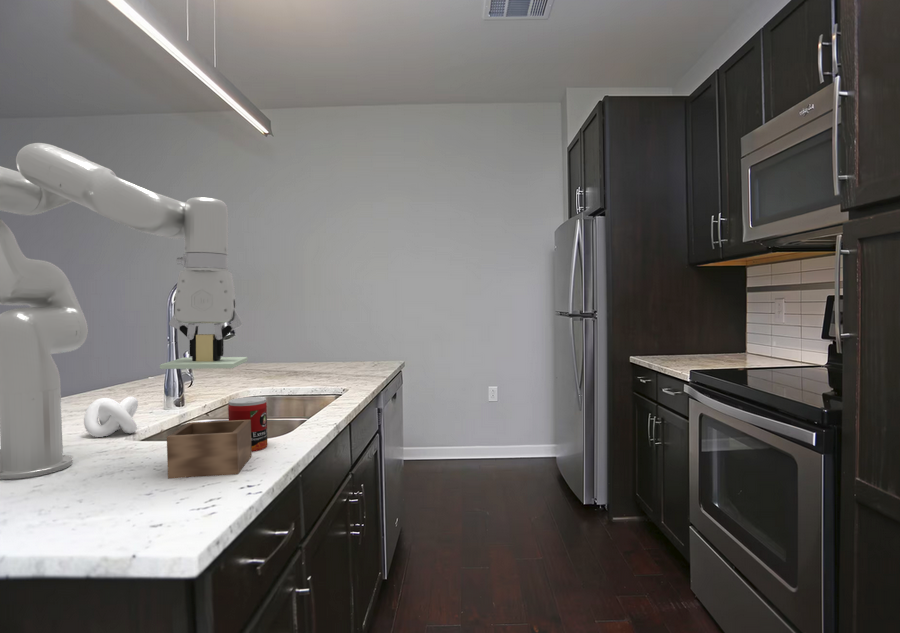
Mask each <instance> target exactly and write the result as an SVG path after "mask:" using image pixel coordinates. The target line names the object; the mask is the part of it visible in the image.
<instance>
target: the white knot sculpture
mask: <svg viewBox="0 0 900 633" xmlns="http://www.w3.org/2000/svg"><path fill="white" fill-rule="evenodd" d="M138 405H139V401H138V399H137V397H134V396H127V397H125V398H124V399H122V400H121V401H120V402H118V401H116V399H113V398H109V397H100V398H97V399H95V400H94V401H92V402H91V403H90V404H89V405H88V406H87V408H86V410H85V413H84V417H83V426H84V429H85V430H86V432H87V433H88V434H89V435H91V436H92V437H94V436H95V438H98V437H102V438H104V437H103V436H106V437H108V436H110V435H113V433H115V431H116V430H118V431H120V430H122V432H123V433H125V434H127V433H132V434H133V433H135V432H136V431H137V423H136V422H135V420H134V419H133V417H134V415H135V414H136V411H137V410H138V407H139V406H138ZM119 429H120V430H119ZM116 432H117V431H116Z"/></svg>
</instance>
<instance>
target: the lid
mask: <svg viewBox="0 0 900 633" xmlns="http://www.w3.org/2000/svg"><path fill="white" fill-rule="evenodd" d="M213 340H215V333H198V335H196V361H192V357H180V358H177V359H174V360H171V361H168V362H167V361H166V362H163V363H161V364H159V369H160V370H172V369H173V370H180V369H181V370H183V369H184V370H185V369H186V370H188V369H191V370H195V369H197V370H198V369H199V370H200V369H208V370H209V369H234V368H236V367H238V366H239V367H240V365H243V364H244V363H247V362H248V360H249V358H248V356H230V357H229V356H228V357H227V356H221V359H220V360H218V361H214V360H213Z"/></svg>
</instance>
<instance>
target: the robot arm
mask: <svg viewBox="0 0 900 633" xmlns="http://www.w3.org/2000/svg"><path fill="white" fill-rule="evenodd" d="M15 164H16V168H17V170H18V171H17V170H14V169H12V168H7V167H3V166H1V165H0V211H1V212H5V213H6V212H7V213H10V214H11V213H12V214H15V215H16V214H17V215H19V216H36V215H39V214H43V213H46V212H48V211H50V210H54V209H56V208H59V207H62V206H65V205H68V204H70V203H73V202H74V203H76V204H78V205H80V206H83V207H85V208H87V209H89V210H90V211H92V212H95V213H97V214H98V215H100V216H102V217H105V218H107V219H109V220H112V221H113V222H116V223H118V224H121V225H123V226H125V227H127V228H130V229H131V230H135V231H137V232H140V233H144V234H149V235H154V236H157V237H158V236H159V237H162V238H166V239H171V240H183V239H184V253H183V256H181V257H176V265H180V266H183V268H184V270H181V269H180V270H179V273H178V278H177V282H176V291H175V299H174V300H175V301H174V313H173V315H172V316H171V319H170V321H169V322H168V324H169V327H172V328H174V329H176V330H178V331H180V332H181V333H182V334H183V335H184V336H185V337H186V338H187V340H189V357H191V358H192V361H196V335H199V334H200V333H199V332H200V324H213V327H214V334H215V340H213V360H214V361H218V360H220V359H221V357H224V340H225V338H226V337H227V336H228V335H229V334H230V333H231V332H232V331H234V330H236V329H239V328H240V327H242V326H243V325H244V322H243V320H242V317H241V316H240V315H239V313H238V311H237V305H236V303H237V302H236V294H235V293H236V292H235V284H234V278H233V274H232V272H231V271H229V270H228V269H229V245H228V244H229V239H228V238H229V237H228V236H229V231H228V230H229V225H228V224H229V222H228V221H229V216H228V215H229V214H228V213H229V211H228V206H227V204H226V203H225V202H224V201H223V200H221V199H217V198H213V197H206V196H205V197H204V196H203V197H202V196H200V197H198V196H196V197H190V198H188V199H187V200H186V202H185V201H180V200H177V199H176V198H175V199H174V198H172V197H169V196H167V195H164V194H160V193H157V192H155V191H152V190H149V189H147V188H144V187H142V186H139V185H137V184H134V183H133V182H129V181H128V180H125V179H123V178H121V177H118V176H117V175H116V173H115V172H114V171H113V170H111V168H108V167H105V166H103V165H100V164H99V163H96V162H93V161H91V160H89V159H87V158H86V157H84V156H81V155H79V154H77V153H74V152H73V151H69V150H66V149H64V148H61V147H58V146H56V145H53V144H50V143H44V142H34V143H29V144H26V145H24V146H23V147H21V149H19V151H17V155H16V156H15ZM0 305H1V306H29V307H17V308H16V307H15V308H13V309H12V308H11V309H9V310H6V311H3V312H1V313H0V480H17V479H26V478H34V477H38V476H39V477H40V476H42V475H48V474H52V473H55V472H58V471H62V470H64V469H65V470H66V469H67V468H68V467H69V468H70V466H72V464H73V462H74V461H73V457H72V456H71V455H66V454H63V452H64V451H63V448H64V447H63V421H62V418H63V417H62V394H61V393H62V392H61V390H62V388H61V377H60V372H59V369H58V366H57V364H56V362H55V360H54V358H53V356H52V355H54V354H64V353H69V352H73V351H76V350H78V349H79V348H81V347H82V346H83V345H84V343H85V342H86V340H87V337H88V333H89V332H88V331H89V330H88V329H89V328H88V322H87V320H86V317H85V314H84V312H83V309H82V308H81V305H80V303H79V300H78V298H77V295H76V293H75V291H74V289H73V286H72V284H71V282H70V280H69V278H68V277H67V275H66V274H65V272H64V271H63V270H62V269H61V268H60V267H58V266H57V265H55V264H54V263H52V262H50V261H47V260H42V259H33V258H28V257H26V256H25V255H24V253H23V251H22V250H21V247H20V246H19V244H18V241H17V239H16V237H15V234H14V233H13V232H12V230H11V228H10V227H9V226H8V225H7V224H6V223H5V221H3V219H1V218H0ZM231 322H232V323H231ZM225 323H230V324H228V325H226V324H225ZM187 324H188V325H187ZM225 325H226V326H225Z"/></svg>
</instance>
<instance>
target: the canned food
mask: <svg viewBox="0 0 900 633" xmlns="http://www.w3.org/2000/svg"><path fill="white" fill-rule="evenodd" d="M227 405H228V406H227V407H228V408H227V409H228V410H227V414H228V416H227V417H228V421H232V420H251V450H252V453H255V452H258V451H261V450H264V449H266V448H268V406H267V405H268V404H267V398H266V397H262V396H245V397H243V396H242V397H236V398H233V399H230V400H228V403H227Z"/></svg>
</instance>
